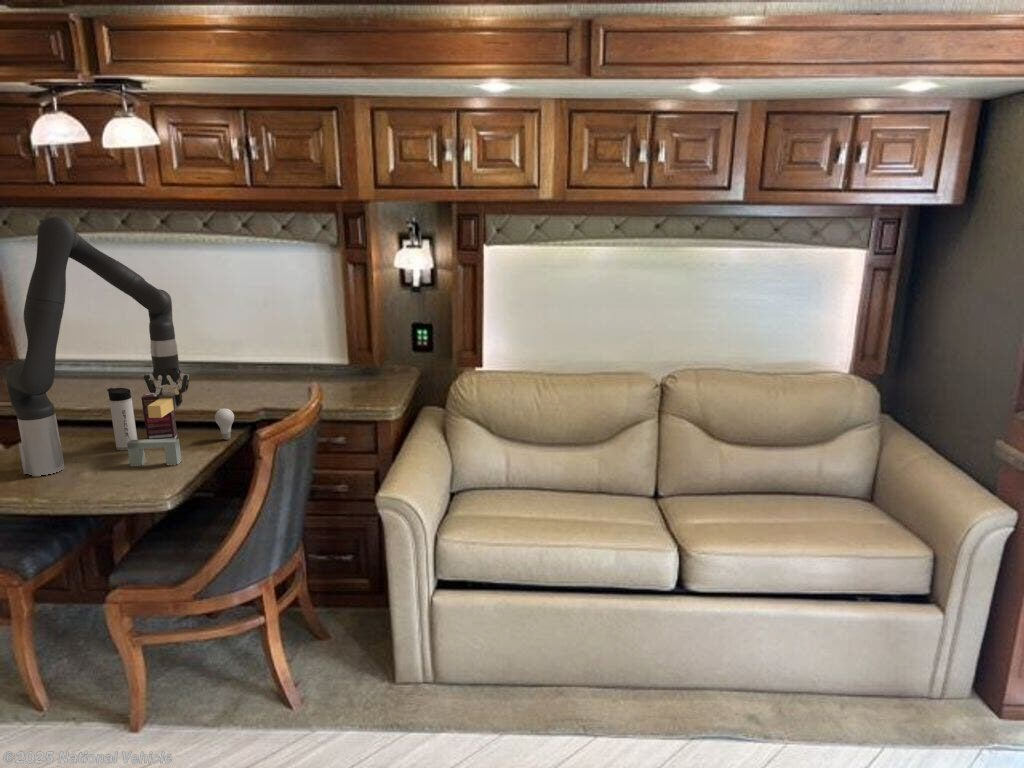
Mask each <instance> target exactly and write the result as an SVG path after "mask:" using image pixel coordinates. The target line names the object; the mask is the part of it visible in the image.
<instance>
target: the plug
mask: <svg viewBox="0 0 1024 768" xmlns="http://www.w3.org/2000/svg"><path fill="white" fill-rule="evenodd" d="M162 393H163V394H161V395H159V399H158V400H157V401H155V402H153V403H152V404H150V405H148V415H149V418H162V417H164V416H165V415H167V414H168V413H170V412H171V411H173V410H174V411H175V410H177V409H178V408H180V407H181V405H179V406H177V405H176V398H175V395H176V394H175V392H171V393H165V392H162Z"/></svg>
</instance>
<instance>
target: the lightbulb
mask: <svg viewBox="0 0 1024 768" xmlns="http://www.w3.org/2000/svg"><path fill="white" fill-rule="evenodd" d="M214 421H215V423H216V424H217V425H218V427H219V429H220V433H221V436H222V439H224V440H226V441H228V440H230V439H231V435H232V434H231V432H232V425H233V423H234V421H235V414H234V412H233V411H232V410H231V409H229V408H220V409H218V410H217V411H216V412H215V414H214Z"/></svg>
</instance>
